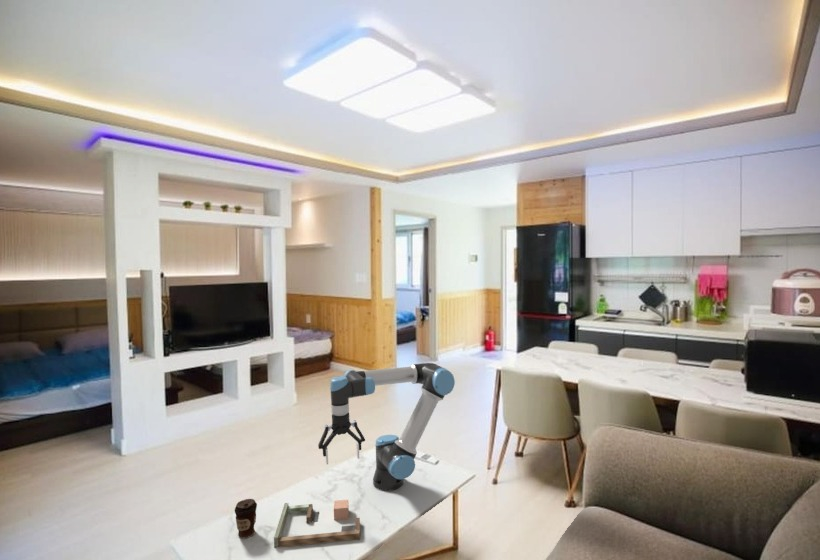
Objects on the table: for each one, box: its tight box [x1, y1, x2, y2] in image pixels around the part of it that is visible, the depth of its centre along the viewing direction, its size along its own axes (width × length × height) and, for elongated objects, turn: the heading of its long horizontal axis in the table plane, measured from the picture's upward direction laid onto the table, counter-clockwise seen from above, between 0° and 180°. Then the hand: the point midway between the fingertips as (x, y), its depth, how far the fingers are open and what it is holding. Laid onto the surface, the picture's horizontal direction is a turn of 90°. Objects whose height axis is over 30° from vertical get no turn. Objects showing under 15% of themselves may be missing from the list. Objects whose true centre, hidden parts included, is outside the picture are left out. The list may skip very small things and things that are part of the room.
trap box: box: [273, 502, 361, 548], centre depth 173 cm, size 33×23×4 cm
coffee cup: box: [234, 498, 258, 539], centre depth 167 cm, size 9×8×13 cm
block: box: [333, 499, 350, 521], centre depth 179 cm, size 6×6×5 cm
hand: (342, 460), depth 180 cm, fingers open, 13 cm apart
